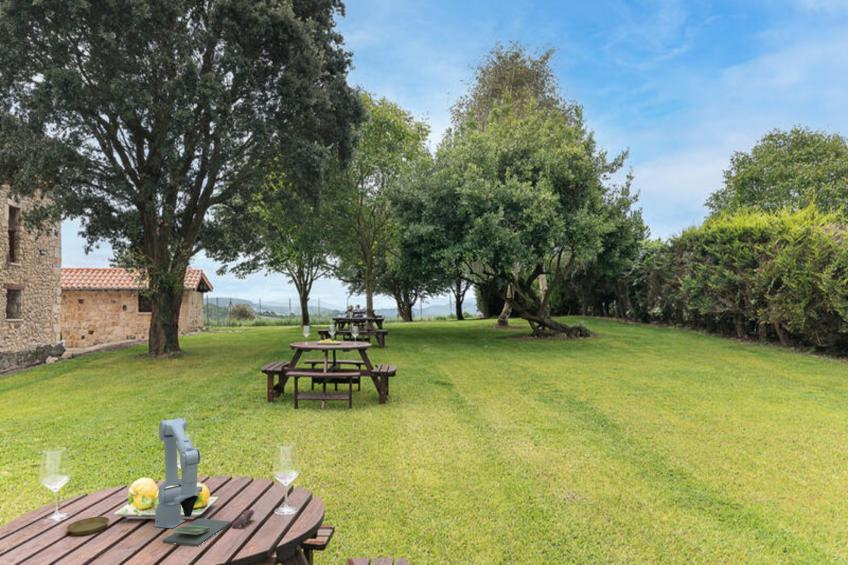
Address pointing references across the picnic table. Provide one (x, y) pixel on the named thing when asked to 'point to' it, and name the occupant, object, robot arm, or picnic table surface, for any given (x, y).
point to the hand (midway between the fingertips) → (187, 516)
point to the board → (200, 538)
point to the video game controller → (243, 518)
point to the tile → (193, 529)
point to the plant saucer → (88, 525)
